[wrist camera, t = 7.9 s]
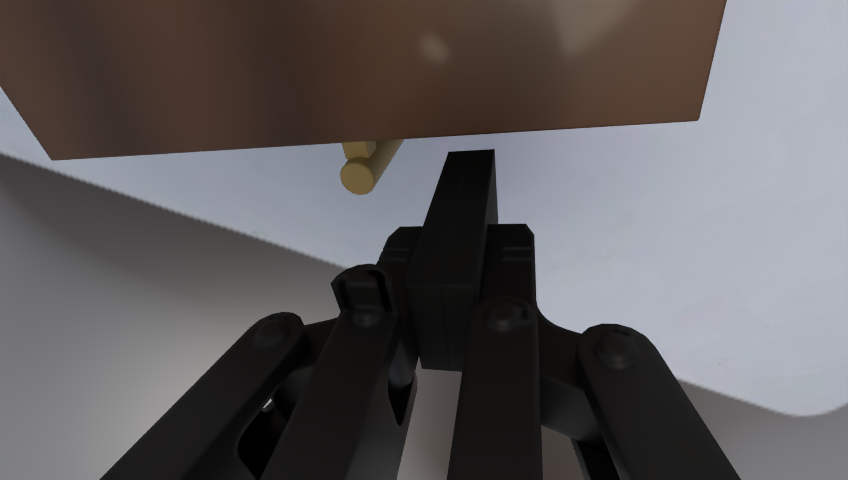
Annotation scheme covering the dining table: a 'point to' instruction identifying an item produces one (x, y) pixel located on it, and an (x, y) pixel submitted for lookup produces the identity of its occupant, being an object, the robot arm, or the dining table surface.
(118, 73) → the cabinet
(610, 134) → the dining table surface
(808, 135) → the dining table surface
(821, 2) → the dining table surface
